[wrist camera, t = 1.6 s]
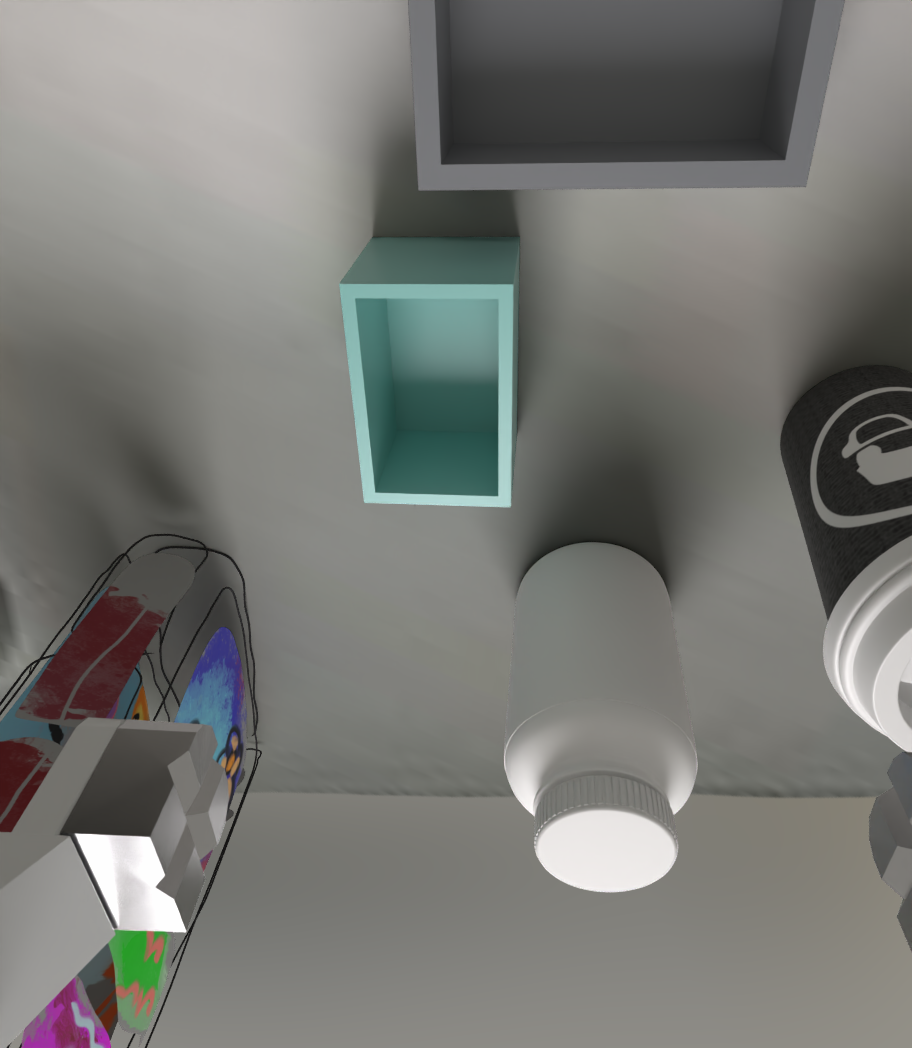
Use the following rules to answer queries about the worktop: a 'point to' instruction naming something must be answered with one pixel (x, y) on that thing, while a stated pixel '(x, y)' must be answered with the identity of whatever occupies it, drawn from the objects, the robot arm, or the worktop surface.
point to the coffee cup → (860, 534)
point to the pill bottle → (598, 717)
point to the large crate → (618, 92)
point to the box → (117, 693)
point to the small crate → (434, 368)
